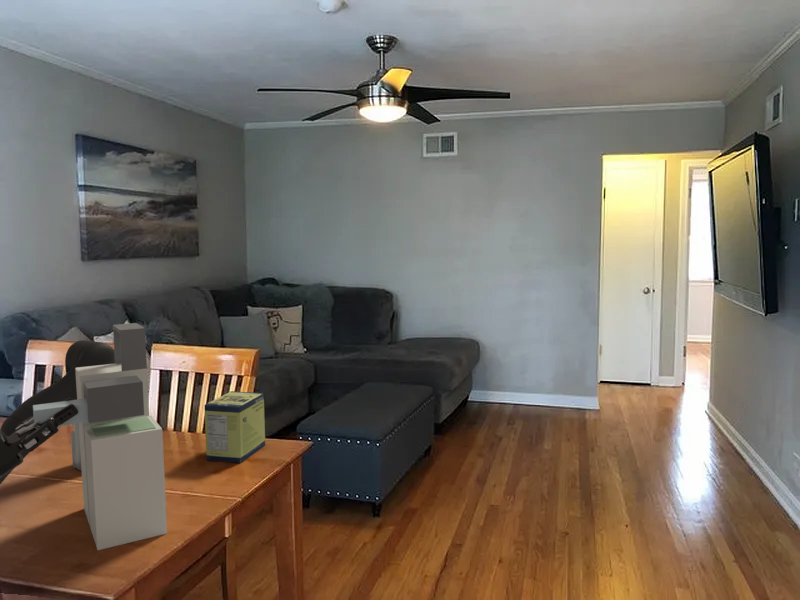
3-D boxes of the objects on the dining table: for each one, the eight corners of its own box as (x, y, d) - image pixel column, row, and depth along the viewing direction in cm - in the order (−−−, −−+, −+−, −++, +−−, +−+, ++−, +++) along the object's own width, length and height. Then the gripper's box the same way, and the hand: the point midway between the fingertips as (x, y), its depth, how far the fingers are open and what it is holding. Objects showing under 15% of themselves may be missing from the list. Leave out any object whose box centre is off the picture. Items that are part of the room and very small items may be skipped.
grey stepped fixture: (97, 550, 125) (85, 342, 120) (83, 508, 144) (72, 327, 139) (167, 533, 132) (157, 336, 127) (145, 495, 151) (136, 322, 146)
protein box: (266, 444, 186) (264, 392, 185) (241, 463, 171) (239, 406, 169) (233, 442, 189) (231, 390, 187) (205, 461, 173) (203, 404, 172)
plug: (35, 431, 119) (33, 395, 118) (33, 422, 125) (31, 387, 124) (144, 415, 129) (142, 381, 128) (137, 407, 135) (136, 375, 134)
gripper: (-1, 465, 126) (81, 411, 133) (0, 489, 114) (90, 428, 121) (-26, 435, 123) (59, 382, 130) (-28, 457, 111) (66, 397, 118)
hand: (74, 405), depth 125 cm, fingers closed on plug, 4 cm apart
